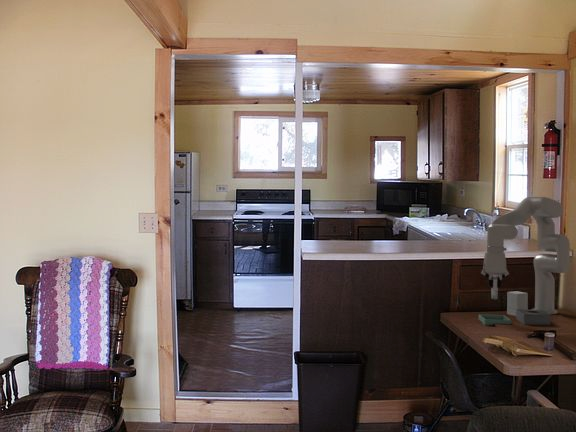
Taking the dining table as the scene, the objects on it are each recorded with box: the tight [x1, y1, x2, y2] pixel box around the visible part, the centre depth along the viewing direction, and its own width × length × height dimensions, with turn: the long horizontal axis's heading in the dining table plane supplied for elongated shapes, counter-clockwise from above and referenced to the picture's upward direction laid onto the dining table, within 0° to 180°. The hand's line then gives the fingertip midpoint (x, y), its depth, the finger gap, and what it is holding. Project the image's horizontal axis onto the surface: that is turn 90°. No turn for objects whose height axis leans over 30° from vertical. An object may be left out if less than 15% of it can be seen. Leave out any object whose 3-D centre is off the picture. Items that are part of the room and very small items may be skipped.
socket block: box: [515, 309, 552, 326], centre depth 269 cm, size 12×12×6 cm
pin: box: [490, 273, 499, 300], centre depth 270 cm, size 4×4×12 cm
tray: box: [478, 314, 512, 326], centre depth 271 cm, size 12×12×3 cm
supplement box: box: [506, 290, 529, 317], centre depth 287 cm, size 7×7×13 cm
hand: (494, 287), depth 271 cm, fingers closed on pin, 3 cm apart
